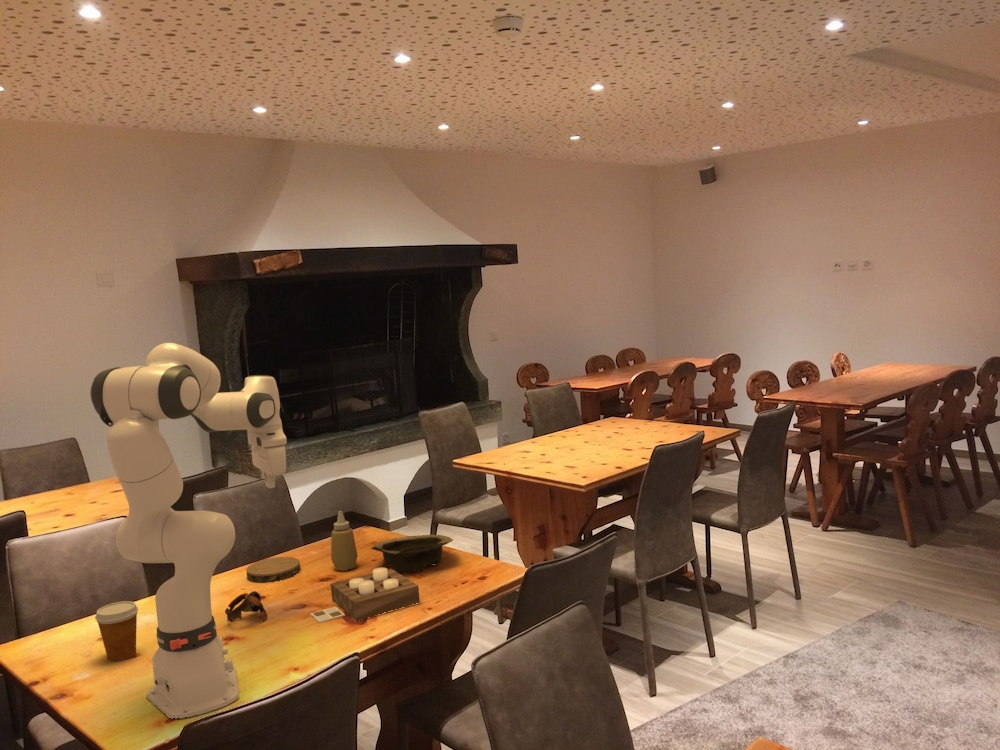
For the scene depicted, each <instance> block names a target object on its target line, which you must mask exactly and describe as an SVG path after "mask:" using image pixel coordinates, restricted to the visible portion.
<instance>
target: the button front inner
mask: <svg viewBox="0 0 1000 750" xmlns="http://www.w3.org/2000/svg"><path fill="white" fill-rule="evenodd" d="M358 585H359V595H360V596H365V595H368V594H372V593H375V592H374V582H373V581H371V580H365V581H361V582H359V583H358Z"/></svg>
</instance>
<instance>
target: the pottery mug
mask: <svg viewBox="0 0 1000 750" xmlns="http://www.w3.org/2000/svg"><path fill="white" fill-rule="evenodd" d="M237 605H238V606H237ZM236 606H237V607H236ZM242 612H244V613H246V612H252V613H254V612H255V613H258V612H260V615H259V617H260V619H261V620H262V622H263V623H265V622H266V621H267V619H268V614H267V610H266V609H265V608H264V605H263V603H262V599H261V594H260V593H259V592H258V591H255V590H254V591H251V592H250V593H247V592H245V593H242V594H239V595H237V596H236V597H235V598H234V599H233V600H232V601H230V602H229V604H228V606H227V608H226V609H225V610H224V614H225V615H226V619H227V622H230V623H233V621H236V620H237V619H238V620H243V618H242V617H243V616H242Z"/></svg>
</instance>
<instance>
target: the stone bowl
mask: <svg viewBox="0 0 1000 750" xmlns="http://www.w3.org/2000/svg"><path fill="white" fill-rule="evenodd" d="M453 541H454V539H453V538H451V537H450V536H448V535H443V534H422V535H407V536H404V537H403V536H402V537H395V538H394V537H393V538H390V539H387V540H382V541H379V542H376V543H375V544H374V545H373V547H371V550H374V551H377V552H381V553H382V556H383V560H384V562H385V563H386V564H387V565H388V566H390V567H392V569H393V570H394V571H396V572H397V573H401V574H404V573H407V574H411V573H413V572H420V571H423V570H425V569H426V566H427V565H431V564H437V565H439V564H441V562H440V561H441V560H442V554H443V546H446V545H448V544H449V543H451V542H453ZM438 563H439V564H438Z"/></svg>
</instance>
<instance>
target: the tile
mask: <svg viewBox="0 0 1000 750" xmlns="http://www.w3.org/2000/svg"><path fill="white" fill-rule="evenodd" d="M310 616H311V618H313V619H314V620H315V621H316V622H318V624H321V623H324V622H325V623H326V622H328V621H331V620H336V619H338V618H339V617H340V618H342V616H343V617H346V614H345V612H344V611H341V610H340V609H339V608H338V606H337V607H336V606H333V607H329V608H326V609H323V610H318V611H314V612H311V613H310ZM340 618H339V619H340Z"/></svg>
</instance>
